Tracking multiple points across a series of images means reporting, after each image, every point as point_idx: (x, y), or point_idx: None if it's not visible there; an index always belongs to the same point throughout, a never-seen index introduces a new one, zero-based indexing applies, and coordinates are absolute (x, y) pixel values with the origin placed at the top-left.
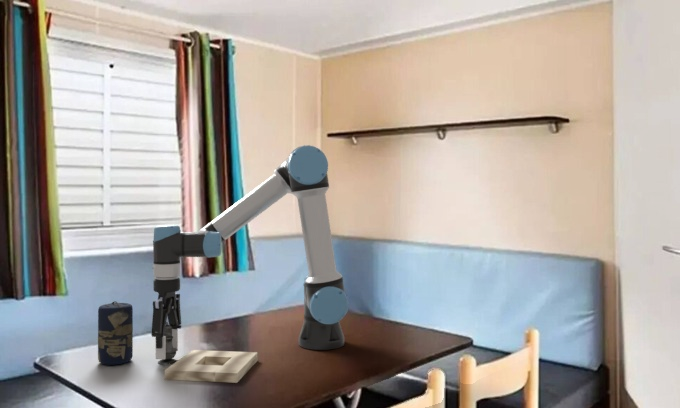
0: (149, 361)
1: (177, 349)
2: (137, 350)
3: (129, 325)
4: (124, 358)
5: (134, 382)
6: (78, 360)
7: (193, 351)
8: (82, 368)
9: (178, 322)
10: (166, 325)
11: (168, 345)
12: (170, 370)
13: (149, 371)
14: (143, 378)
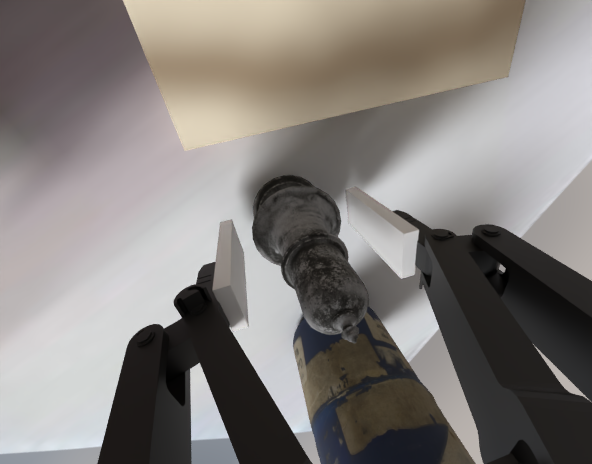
0: None
1: (224, 223)
2: None
3: (399, 421)
4: None
5: (490, 164)
6: None
7: (209, 128)
8: None
9: (166, 345)
10: (357, 314)
11: (321, 224)
12: (514, 44)
13: (392, 194)
14: (457, 163)
